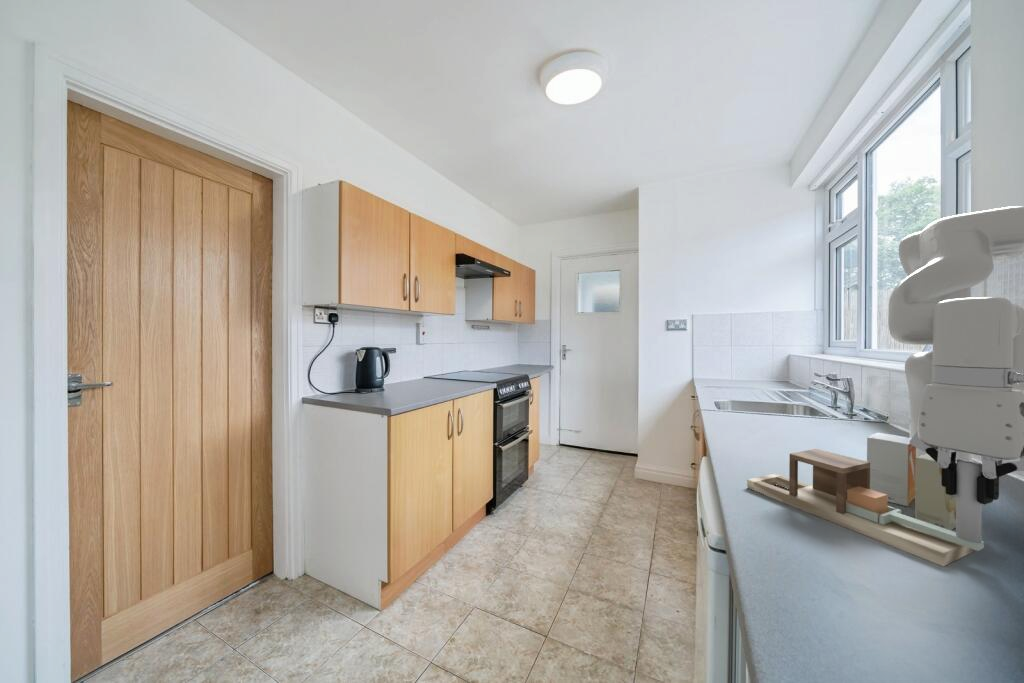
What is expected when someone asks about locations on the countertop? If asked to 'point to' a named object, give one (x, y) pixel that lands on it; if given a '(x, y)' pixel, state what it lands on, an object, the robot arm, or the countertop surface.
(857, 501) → the block
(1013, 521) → the countertop surface
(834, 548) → the countertop surface
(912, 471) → the small box
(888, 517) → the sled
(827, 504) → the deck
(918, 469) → the skincare box
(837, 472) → the tunnel
